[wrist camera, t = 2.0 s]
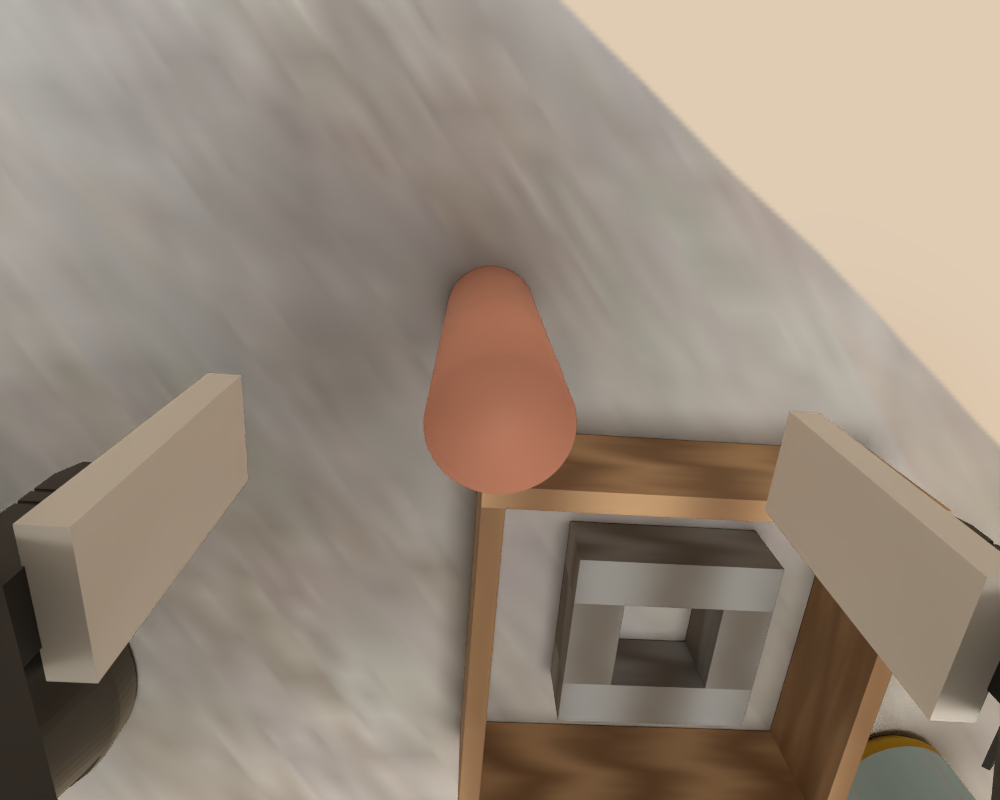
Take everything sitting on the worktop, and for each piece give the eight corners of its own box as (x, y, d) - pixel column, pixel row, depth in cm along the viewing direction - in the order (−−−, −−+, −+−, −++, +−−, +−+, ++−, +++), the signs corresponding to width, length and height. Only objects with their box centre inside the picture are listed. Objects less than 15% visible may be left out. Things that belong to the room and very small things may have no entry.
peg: (445, 347, 31) (421, 490, 17) (449, 262, 29) (426, 347, 16) (529, 353, 31) (567, 498, 18) (537, 269, 29) (585, 357, 16)
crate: (459, 733, 39) (456, 830, 33) (482, 428, 32) (482, 485, 26) (782, 743, 40) (832, 839, 34) (871, 451, 33) (951, 510, 28)
